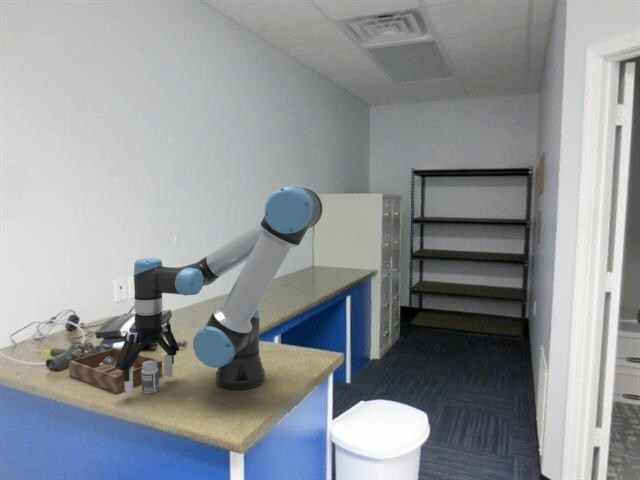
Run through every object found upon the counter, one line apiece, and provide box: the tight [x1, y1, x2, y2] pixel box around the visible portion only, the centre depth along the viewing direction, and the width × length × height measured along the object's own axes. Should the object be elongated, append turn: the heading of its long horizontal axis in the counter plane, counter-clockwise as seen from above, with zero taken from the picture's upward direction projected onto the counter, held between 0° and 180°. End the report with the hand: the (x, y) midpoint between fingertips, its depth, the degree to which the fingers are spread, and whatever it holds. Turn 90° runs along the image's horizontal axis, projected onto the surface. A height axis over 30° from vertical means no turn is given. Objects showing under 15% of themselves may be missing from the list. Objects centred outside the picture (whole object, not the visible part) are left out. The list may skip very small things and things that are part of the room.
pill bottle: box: [141, 361, 160, 394], centre depth 130 cm, size 5×5×8 cm
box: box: [68, 346, 163, 395], centre depth 141 cm, size 24×16×5 cm, turn 58°
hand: (149, 383), depth 131 cm, fingers open, 13 cm apart
